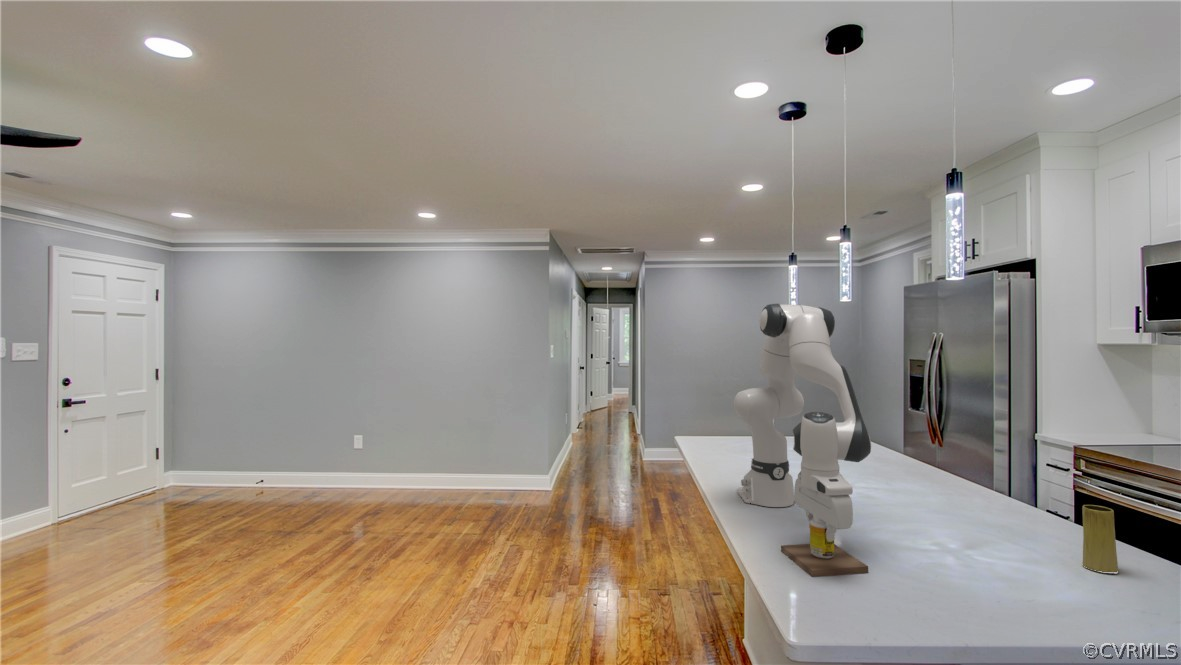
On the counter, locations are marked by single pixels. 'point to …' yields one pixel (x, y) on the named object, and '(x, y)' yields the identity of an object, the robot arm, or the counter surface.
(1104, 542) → the vase
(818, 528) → the supplement bottle
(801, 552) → the walnut board
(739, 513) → the counter surface
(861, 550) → the counter surface
